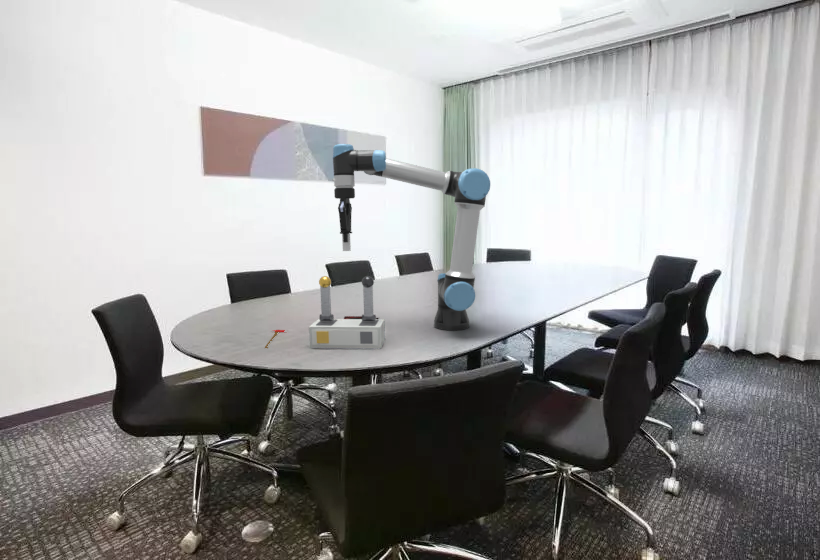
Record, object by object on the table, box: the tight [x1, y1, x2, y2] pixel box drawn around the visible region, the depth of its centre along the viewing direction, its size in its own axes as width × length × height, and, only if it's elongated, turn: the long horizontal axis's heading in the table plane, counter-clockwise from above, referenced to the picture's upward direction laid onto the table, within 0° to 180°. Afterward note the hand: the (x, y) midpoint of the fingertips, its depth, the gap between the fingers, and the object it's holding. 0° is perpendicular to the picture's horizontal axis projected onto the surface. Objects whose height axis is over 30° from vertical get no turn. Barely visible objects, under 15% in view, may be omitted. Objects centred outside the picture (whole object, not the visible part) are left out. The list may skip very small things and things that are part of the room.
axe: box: [264, 329, 286, 349], centre depth 175 cm, size 26×1×10 cm
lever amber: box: [318, 275, 335, 321], centre depth 164 cm, size 5×4×17 cm
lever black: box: [361, 275, 377, 321], centre depth 163 cm, size 5×4×17 cm
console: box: [308, 318, 386, 350], centre depth 166 cm, size 26×12×8 cm, turn 85°
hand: (346, 250), depth 168 cm, fingers closed
